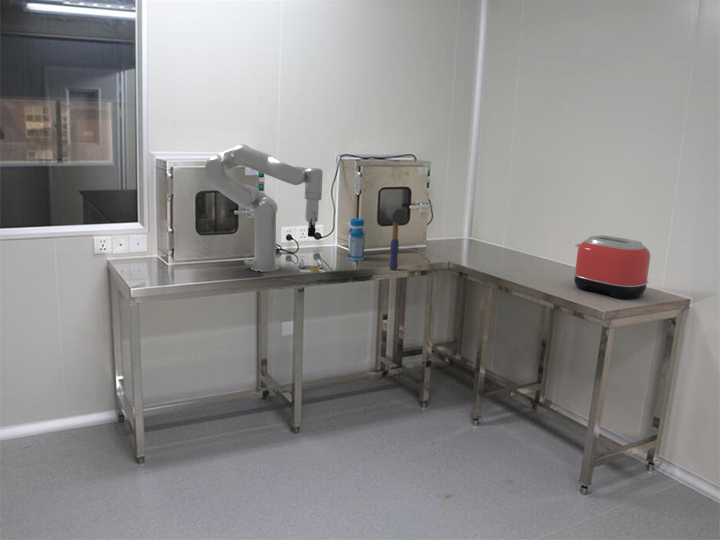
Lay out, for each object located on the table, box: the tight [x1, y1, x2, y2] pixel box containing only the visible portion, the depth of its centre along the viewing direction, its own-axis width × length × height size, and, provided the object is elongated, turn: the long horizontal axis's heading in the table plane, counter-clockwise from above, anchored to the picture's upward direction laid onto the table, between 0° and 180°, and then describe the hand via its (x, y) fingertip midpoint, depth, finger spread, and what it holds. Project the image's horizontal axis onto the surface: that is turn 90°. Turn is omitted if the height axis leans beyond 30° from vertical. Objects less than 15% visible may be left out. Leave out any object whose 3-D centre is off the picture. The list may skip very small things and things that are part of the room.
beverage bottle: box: [347, 218, 366, 261], centre depth 328 cm, size 8×8×20 cm
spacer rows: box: [298, 258, 324, 270], centre depth 304 cm, size 10×8×3 cm
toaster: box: [573, 235, 651, 300], centre depth 282 cm, size 32×23×23 cm
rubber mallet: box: [385, 204, 408, 271], centre depth 307 cm, size 12×8×30 cm, turn 13°
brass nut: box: [310, 265, 320, 273], centre depth 297 cm, size 5×4×2 cm
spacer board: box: [298, 265, 326, 273], centre depth 302 cm, size 11×13×1 cm
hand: (311, 236), depth 297 cm, fingers closed
